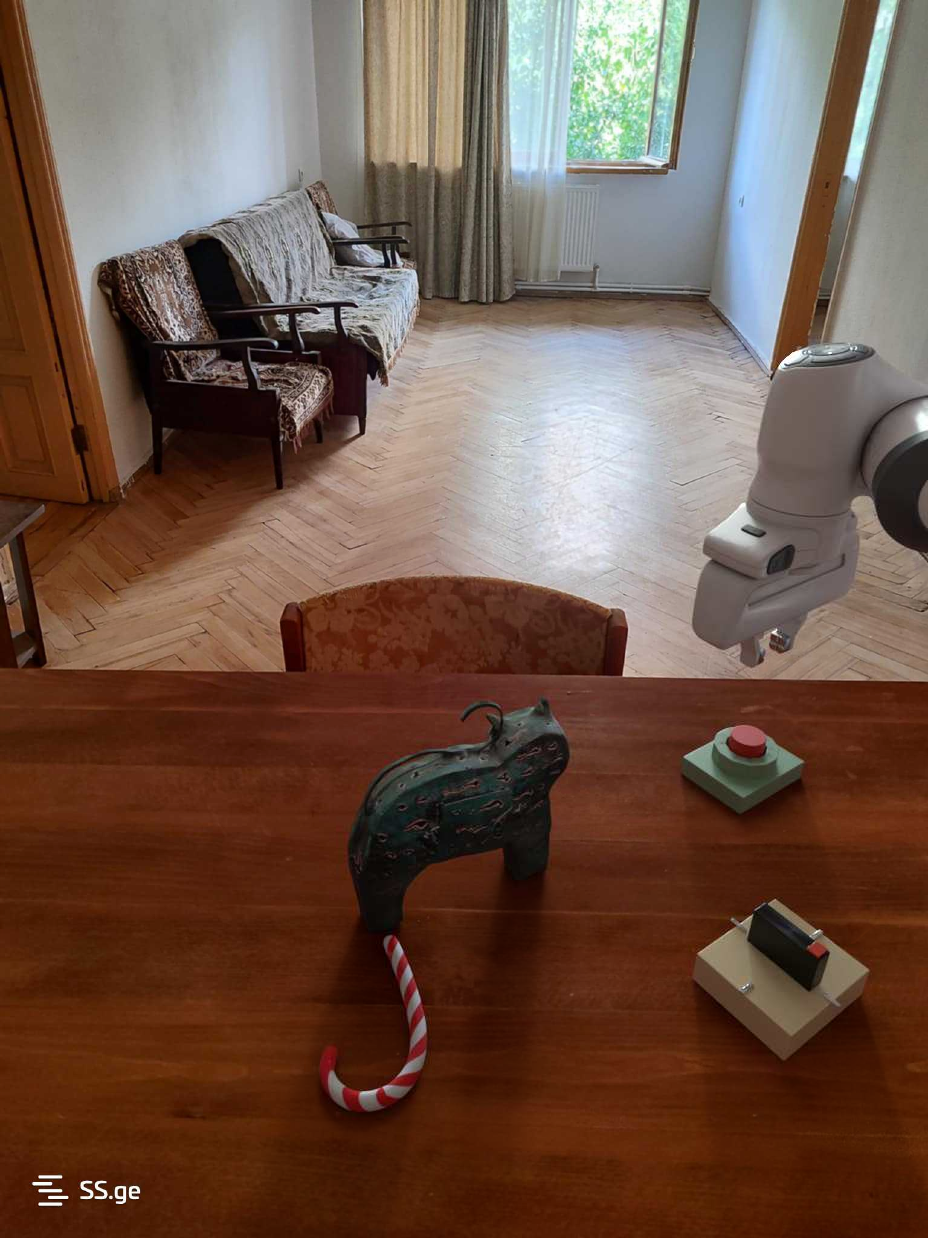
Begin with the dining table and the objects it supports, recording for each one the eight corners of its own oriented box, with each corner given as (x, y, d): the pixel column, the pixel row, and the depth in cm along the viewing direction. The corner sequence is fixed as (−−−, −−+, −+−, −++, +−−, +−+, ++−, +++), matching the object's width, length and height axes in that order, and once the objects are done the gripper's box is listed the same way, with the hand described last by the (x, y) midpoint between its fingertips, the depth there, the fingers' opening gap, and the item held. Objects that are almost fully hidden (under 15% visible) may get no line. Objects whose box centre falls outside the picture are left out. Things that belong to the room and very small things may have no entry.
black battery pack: (746, 940, 72) (754, 908, 70) (758, 932, 73) (766, 899, 71) (809, 992, 68) (819, 959, 66) (821, 983, 68) (831, 950, 67)
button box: (740, 740, 100) (746, 711, 98) (800, 777, 94) (808, 748, 92) (680, 773, 95) (685, 743, 93) (739, 814, 89) (746, 784, 87)
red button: (743, 734, 95) (745, 721, 94) (770, 751, 93) (773, 737, 92) (721, 746, 93) (723, 732, 92) (748, 763, 91) (751, 750, 90)
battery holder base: (764, 917, 78) (770, 892, 76) (868, 999, 71) (878, 973, 69) (685, 974, 73) (690, 948, 71) (789, 1068, 65) (797, 1042, 64)
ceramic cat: (538, 836, 86) (551, 663, 76) (573, 881, 81) (591, 703, 71) (345, 901, 79) (330, 720, 69) (370, 956, 74) (358, 769, 64)
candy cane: (429, 931, 75) (424, 1104, 62) (429, 942, 75) (425, 1115, 62) (337, 932, 74) (313, 1105, 61) (338, 943, 75) (314, 1116, 62)
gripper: (830, 493, 88) (803, 614, 95) (690, 541, 77) (671, 673, 84) (889, 513, 83) (855, 638, 90) (748, 568, 73) (723, 705, 80)
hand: (765, 656), depth 87 cm, fingers open, 3 cm apart
